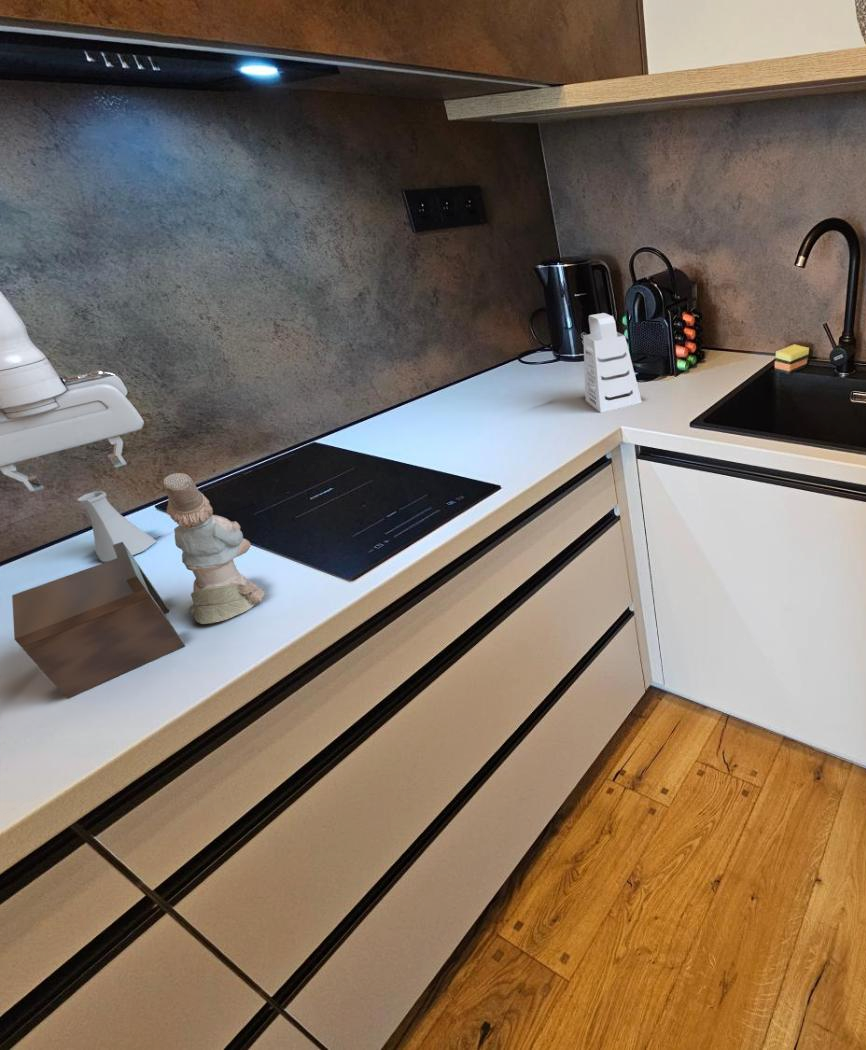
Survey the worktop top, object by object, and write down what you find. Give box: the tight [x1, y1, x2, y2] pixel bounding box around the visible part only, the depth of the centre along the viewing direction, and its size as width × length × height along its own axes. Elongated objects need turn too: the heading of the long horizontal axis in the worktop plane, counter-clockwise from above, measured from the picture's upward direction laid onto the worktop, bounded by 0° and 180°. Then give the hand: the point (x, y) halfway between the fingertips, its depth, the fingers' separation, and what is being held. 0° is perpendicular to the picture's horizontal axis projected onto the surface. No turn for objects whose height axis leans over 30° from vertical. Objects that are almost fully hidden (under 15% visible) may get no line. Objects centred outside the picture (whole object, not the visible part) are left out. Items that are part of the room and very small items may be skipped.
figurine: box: [162, 472, 266, 625], centre depth 74 cm, size 9×8×20 cm
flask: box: [76, 490, 157, 563], centre depth 91 cm, size 7×7×10 cm
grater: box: [582, 312, 643, 414], centre depth 136 cm, size 10×10×20 cm
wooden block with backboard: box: [11, 542, 186, 700], centre depth 70 cm, size 11×12×11 cm
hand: (80, 476), depth 87 cm, fingers open, 8 cm apart
